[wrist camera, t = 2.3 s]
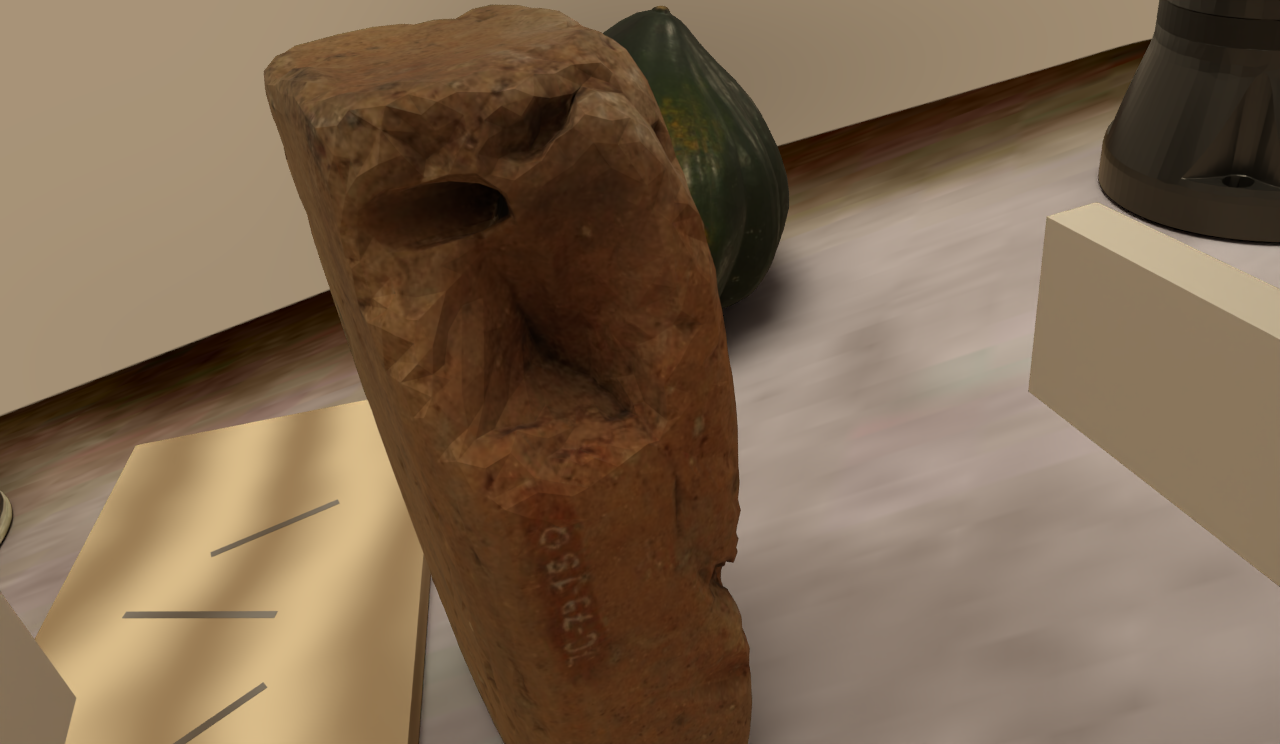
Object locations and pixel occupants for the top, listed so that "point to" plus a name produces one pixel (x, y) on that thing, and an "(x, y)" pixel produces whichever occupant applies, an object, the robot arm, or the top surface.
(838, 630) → the top surface
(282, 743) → the board
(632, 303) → the block
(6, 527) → the coffee can
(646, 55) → the squash
